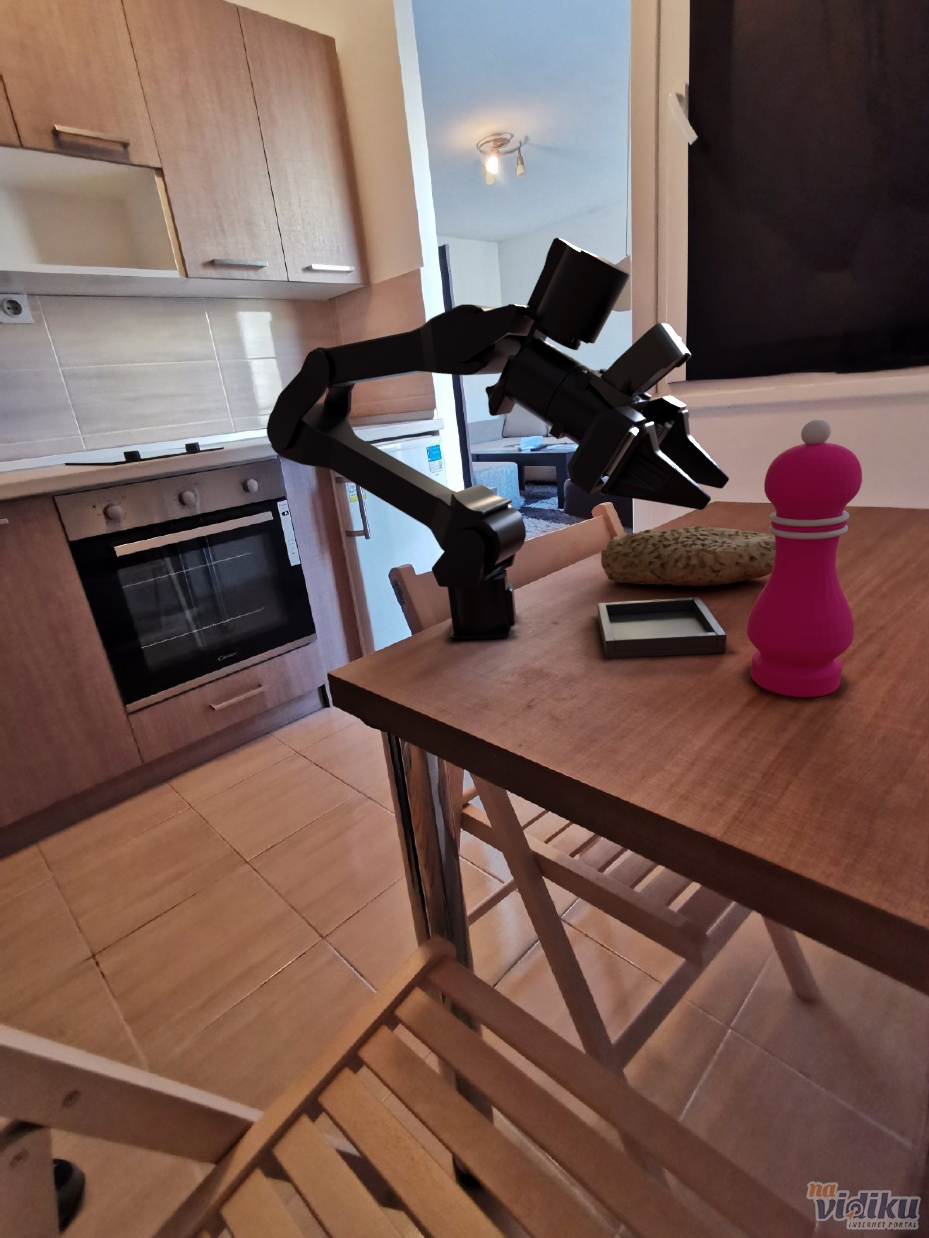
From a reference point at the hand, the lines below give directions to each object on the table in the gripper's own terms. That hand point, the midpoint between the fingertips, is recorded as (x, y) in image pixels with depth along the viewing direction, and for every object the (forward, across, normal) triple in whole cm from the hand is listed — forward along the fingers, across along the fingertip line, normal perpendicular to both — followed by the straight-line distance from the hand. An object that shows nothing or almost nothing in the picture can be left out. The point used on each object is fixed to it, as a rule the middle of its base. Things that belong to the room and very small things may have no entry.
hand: (717, 493), depth 49 cm
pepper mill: (+14, -4, +8) cm, 17 cm away
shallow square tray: (+4, +3, +15) cm, 16 cm away
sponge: (+4, +21, +15) cm, 26 cm away
